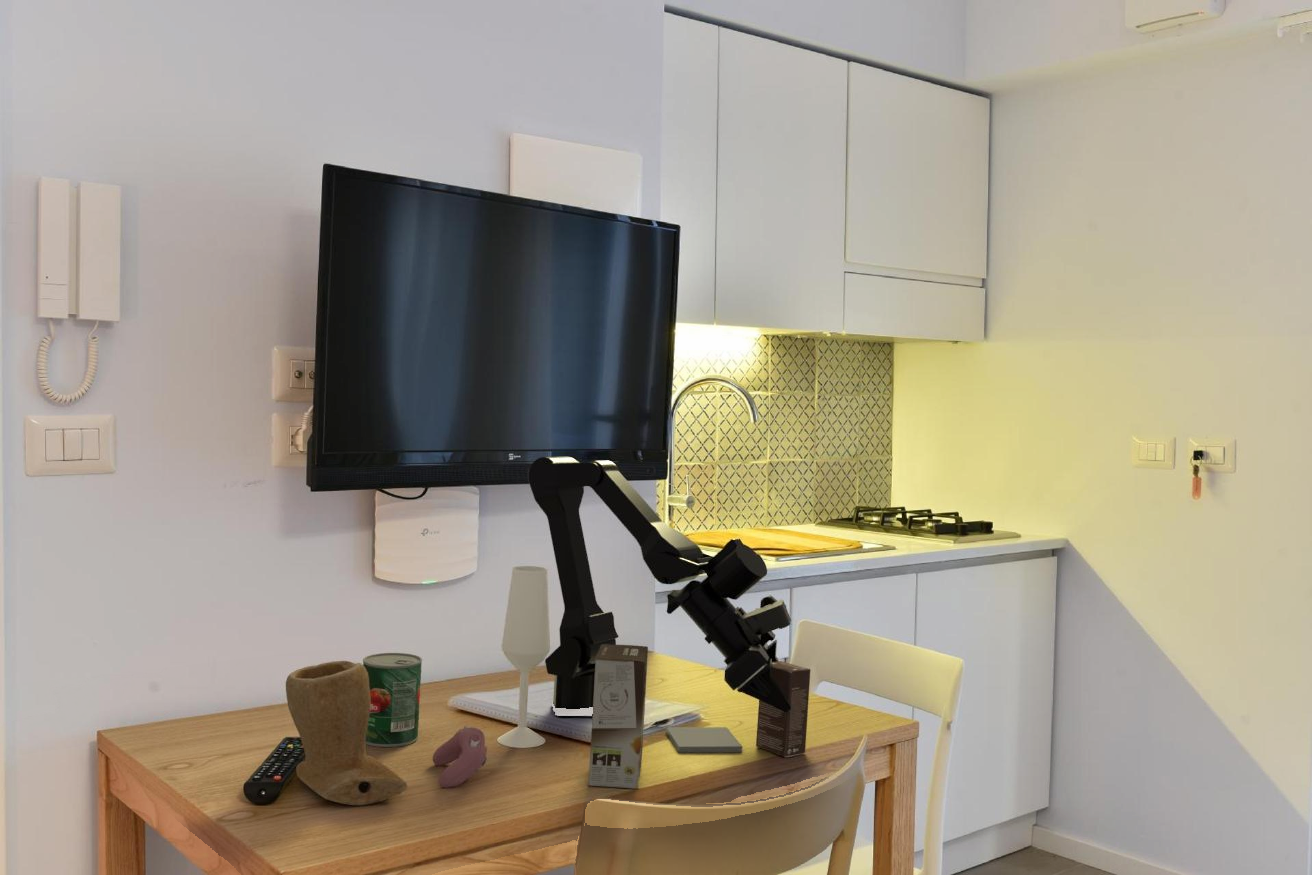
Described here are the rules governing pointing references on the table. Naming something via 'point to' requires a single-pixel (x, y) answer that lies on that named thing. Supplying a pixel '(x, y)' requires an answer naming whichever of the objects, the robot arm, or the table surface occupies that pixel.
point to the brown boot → (338, 734)
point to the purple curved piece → (461, 756)
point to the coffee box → (618, 716)
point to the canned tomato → (393, 699)
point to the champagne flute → (526, 641)
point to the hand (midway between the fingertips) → (790, 701)
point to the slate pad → (703, 739)
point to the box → (785, 713)
